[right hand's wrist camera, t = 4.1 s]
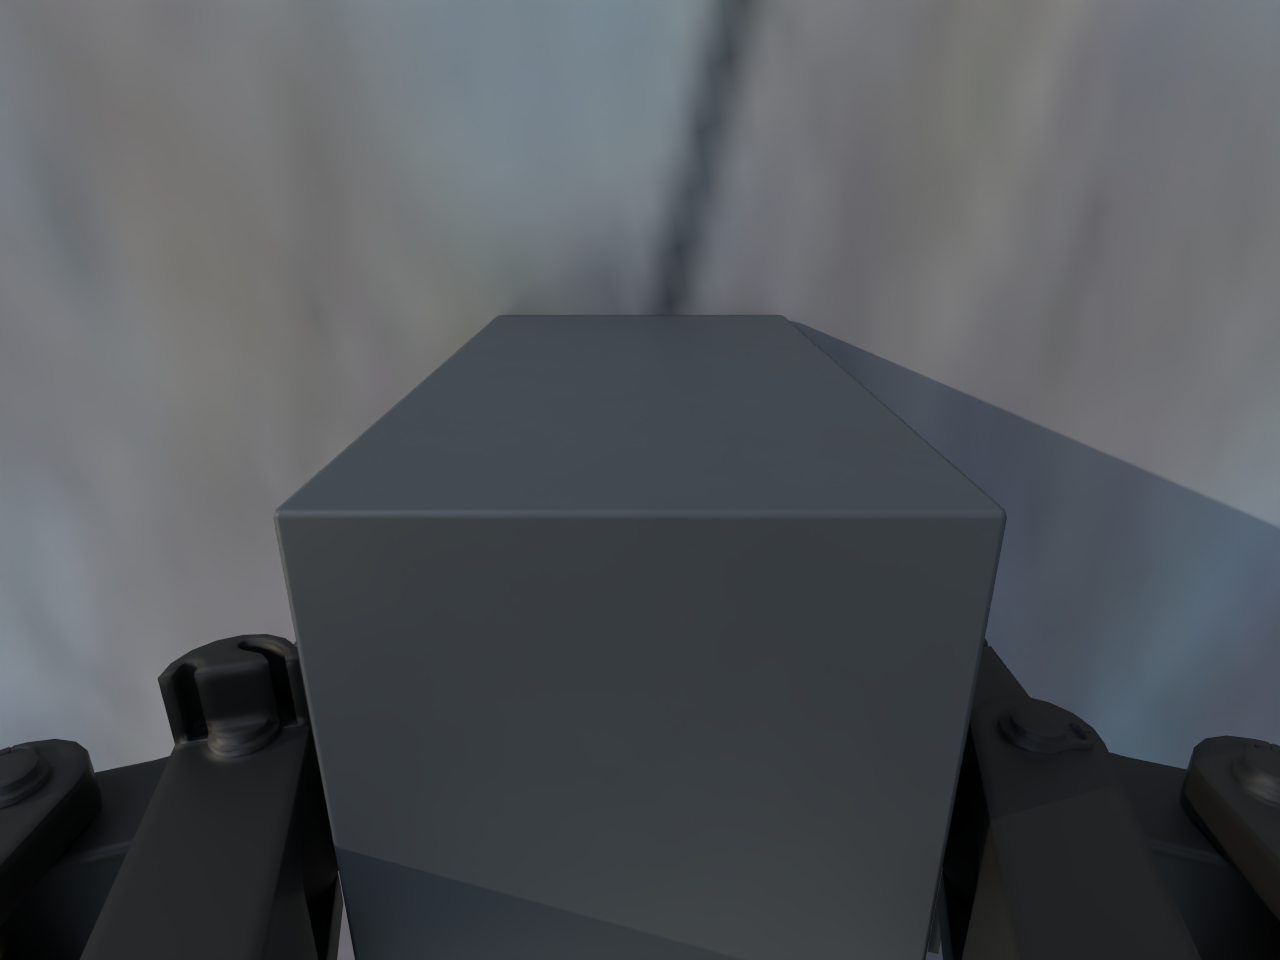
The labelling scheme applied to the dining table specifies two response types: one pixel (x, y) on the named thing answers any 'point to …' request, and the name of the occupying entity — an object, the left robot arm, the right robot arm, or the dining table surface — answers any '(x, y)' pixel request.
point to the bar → (640, 650)
